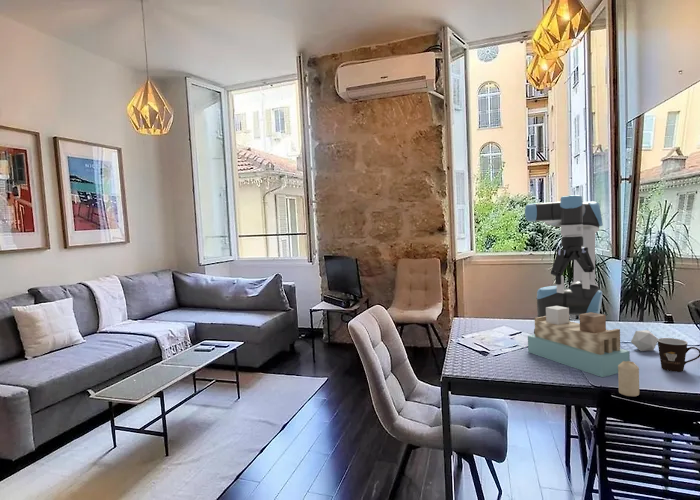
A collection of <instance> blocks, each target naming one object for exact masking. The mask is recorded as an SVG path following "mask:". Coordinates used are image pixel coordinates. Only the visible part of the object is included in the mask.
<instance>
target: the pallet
mask: <svg viewBox="0 0 700 500" xmlns="http://www.w3.org/2000/svg"><path fill="white" fill-rule="evenodd" d="M534 329H535V336H536V337H540V338H543V339H547V340H550V341H554V342H557V343H561V344H564V345H568V346H571V347H575V348H578V349H582V350H585V351H588V352H592V353H595V354H599V355H603V354H604V352H607V353H611V352H612V350H614V351H620V349H621V329H620V328H613V329H606V331H604V332H599V333H595V334H594V333H590V332H586V331H581V330H580V322H575V321H571V320H569V323H565V324H560V325H557V324H552V323H548V322H546V316H543V317H538V316H537V317H534Z"/></svg>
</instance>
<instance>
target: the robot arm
mask: <svg viewBox="0 0 700 500" xmlns="http://www.w3.org/2000/svg"><path fill="white" fill-rule="evenodd" d="M524 216H525V220H526V222H542V223H544V224H546V225H548V226H553V227H557V228H558V227H559V228H560V235H561V238H560V239H561V246H562V248H563V249H557V250H556V256H555V258H554V262H553V265H552V268H551V271H550V275H552V276H555V285H548V286H544V287H540V288H538V289H537V292H536V307H537V308H536V310H537V311H536V312H537V317H543V316H546V307H551V306H561V307H566V308H569V316H580V314H584V313H590V312H592V313H598V314H600V312H601V308H602V301H603V291H602V290H600V289H599V286H598V284H596V233H597V232H599V230H600V228H601V227H602V226H604V225H603V217H602V212H601V205H600V203H599V202H597V201H584V202H583V196H582V195H581V194H575V195H563V196H561V197H560V201H552V202H538V203H535V202H533V203H528V204H527V203H526V205H525V207H524ZM572 261H573V282H572V283H570V285H569V289H568V288H567V289H566V288H565V280H564V279H565V278H564V277H565V276H564V275H563V274H564V272H565V270H566V268H567V267H568V265H569V263H570V262H572ZM533 335H535V328H534V329H533Z"/></svg>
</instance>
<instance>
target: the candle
mask: <svg viewBox="0 0 700 500" xmlns="http://www.w3.org/2000/svg"><path fill="white" fill-rule="evenodd" d="M617 374H618V375H617V376H618V377H617V378H618V383H617V384H618V393H619V394H621V395H623V396H626V397H637V396H639V395H640V367H639V366H638V365H637V364H636V363H635V362H634V361H631V360H630V361H623V362H622V363H620V364H619V365H618V373H617Z"/></svg>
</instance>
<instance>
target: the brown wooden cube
mask: <svg viewBox="0 0 700 500" xmlns="http://www.w3.org/2000/svg"><path fill="white" fill-rule="evenodd" d="M606 322H607V318H606V314H602V313H599V314H598V313H592V312H590V313H584V314H580V315H579V324H580V330H581V331H586V332H590V333H594V334H595V333H599V332H604V331H606V330H607V325H606Z"/></svg>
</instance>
